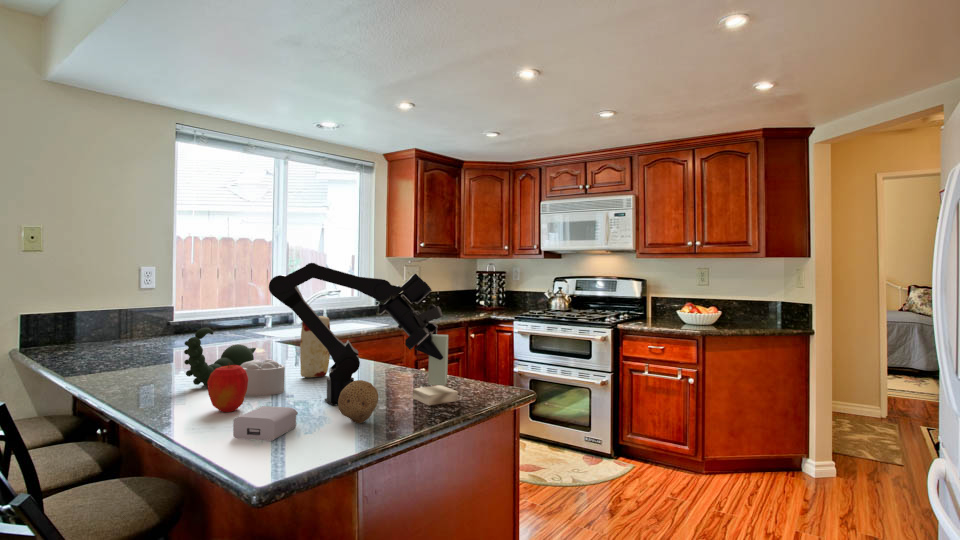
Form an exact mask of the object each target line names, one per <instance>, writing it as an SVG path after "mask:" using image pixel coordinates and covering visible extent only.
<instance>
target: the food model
mask: <svg viewBox="0 0 960 540" xmlns="http://www.w3.org/2000/svg"><path fill="white" fill-rule="evenodd" d="M318 316H319V318H320V319H321V320H322V321H323V322H324V323H325V324H326V326H327V327H328V328H329V329H330V330H331V324H330V323H331V321H330V318H329V317H327V316H325V315H318ZM301 321H302V320H301ZM299 349H300V354H299V356H300V357H299V360H300V361H299V362H300V376H301V377H302V378H319V377H325V376H326V375H327V374H328V371H329V365H330V358H331V355H330V353H329V352H328V350H327V349H326V347H325V346H324V345H323V344H322V343H321V342H320V341H319V339H318V338H317V337H316V336H315V335H314V334H313V333H312V331H311V330H310V329H309V328H308V327H307V326H306V325H305V324H304V322H303V321H302V322H301V331H300V348H299Z"/></svg>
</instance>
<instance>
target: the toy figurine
mask: <svg viewBox="0 0 960 540" xmlns="http://www.w3.org/2000/svg"><path fill="white" fill-rule="evenodd" d="M208 334H210V335H214V331H213V329H211V328H209V327H202V328H200V329H198V330H196V332H195V334H194V336H193V337H189V339H188V340H186V341H184V345H185V346H187V347H188V348H187V349H184V351H183V353H184V355H188V359H185V360H184V362H183V363H184V364H185V365H189V367H190V369H189V370H187V371H186V373H185V375H186V376H187V377H192V376H193V377H194V378H193V380H192V381H193V382H192V383H193V384H194V385H198V386H199V385H200V384H203V386H205V387H208V384H207V382H208V379H209V377H210V374H211V373H212V372H213V371H214V370H215V369H216V368H219V367H223V366H228V365H239V366H240V365H241V364H243V363H245V362H250V361H252V360H255V357H254V352H255V351H256V349H257V348H256V347H250V348H249V347H248V346H246V345H244V344H232V345H230V346H228V347H226V349H224V350H223V352H222V353H221V355H220V358H218V359H217V360H215V361H214V363H211V364H208V362H206V357H205V355H204V349H203V347H202V346H201V345H202V341H201V340H202V339H203V338H205V337H206V335H208ZM229 363H230V364H229Z"/></svg>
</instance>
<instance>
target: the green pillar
mask: <svg viewBox="0 0 960 540" xmlns="http://www.w3.org/2000/svg"><path fill="white" fill-rule="evenodd" d="M432 341H433V342H434V344H435V345H436V347H437V348H438V350H439V351H440V353H441V354H442V356H443V359H441V360H439V359H436V358H434V357H432V356H430V355H428V368H427V369H428V377H427V378H428V379H427V380H428V381H427V384H428V385H429V386H437V385H442V386H445V385H446V384H447V383H448V365H449V364H448V363H449V359H448V358H449V334H438V333H437V334H432Z"/></svg>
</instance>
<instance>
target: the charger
mask: <svg viewBox="0 0 960 540" xmlns="http://www.w3.org/2000/svg"><path fill="white" fill-rule="evenodd" d="M298 414H299V412H298V411H297V410H296V408H292V407H288V406H287V407H285V406H272V405H271V406H268V405H262V406H260V407H258V408H255V409H252V410H250V411H248V412H246V413H243V414H241V415H239V416H237V417H234V419H233V420H232V421H233V423H232V425H233V428H232V429H233V430H232V435H233V437H234V438H235V439H239V440H249V441H250V440H252V441H265V442H266V441H268V442H272V441H274V440H276V439H278V438H279V437H281V436H282V435H284V434H286V433H288V432H290V431H291V430H293V429H295V428H296V427H297V415H298Z"/></svg>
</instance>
